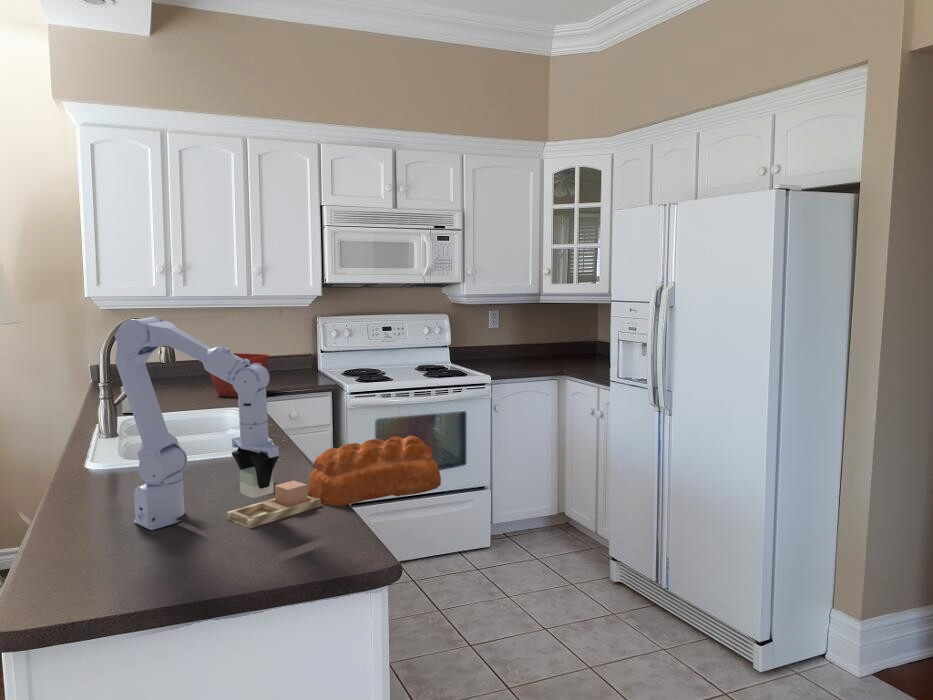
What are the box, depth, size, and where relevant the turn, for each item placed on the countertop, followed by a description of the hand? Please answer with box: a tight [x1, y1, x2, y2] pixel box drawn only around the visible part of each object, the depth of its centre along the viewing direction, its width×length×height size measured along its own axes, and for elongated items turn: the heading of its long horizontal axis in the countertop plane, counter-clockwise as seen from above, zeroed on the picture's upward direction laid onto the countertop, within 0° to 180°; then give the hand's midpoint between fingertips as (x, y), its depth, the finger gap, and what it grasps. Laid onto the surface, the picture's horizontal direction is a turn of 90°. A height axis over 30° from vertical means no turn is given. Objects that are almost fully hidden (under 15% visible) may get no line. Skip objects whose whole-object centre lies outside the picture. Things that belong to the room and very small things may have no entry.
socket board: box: [226, 495, 322, 529], centre depth 159 cm, size 18×9×3 cm, turn 139°
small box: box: [120, 386, 132, 414], centre depth 278 cm, size 8×6×10 cm
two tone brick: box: [239, 467, 275, 499], centre depth 155 cm, size 5×5×5 cm
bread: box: [307, 435, 442, 507], centre depth 175 cm, size 16×31×13 cm, turn 124°
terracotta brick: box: [274, 479, 308, 507], centre depth 162 cm, size 5×5×5 cm
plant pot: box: [208, 352, 270, 398], centre depth 313 cm, size 19×19×17 cm
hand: (256, 484), depth 155 cm, fingers closed on two tone brick, 5 cm apart
